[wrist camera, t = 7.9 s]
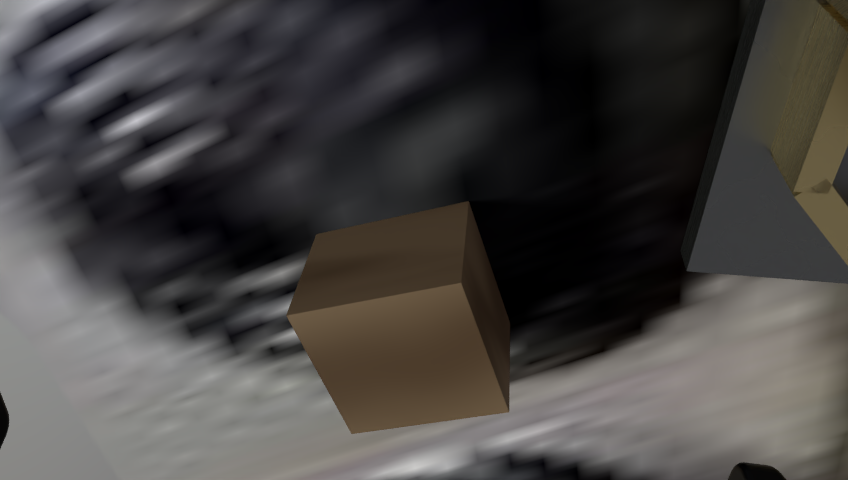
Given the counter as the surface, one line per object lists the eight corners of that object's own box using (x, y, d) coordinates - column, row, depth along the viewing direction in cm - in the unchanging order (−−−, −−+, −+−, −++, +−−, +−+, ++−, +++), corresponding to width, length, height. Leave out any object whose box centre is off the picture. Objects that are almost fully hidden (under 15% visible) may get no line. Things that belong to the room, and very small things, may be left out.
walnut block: (510, 320, 25) (509, 412, 22) (371, 344, 27) (351, 434, 23) (468, 198, 23) (460, 282, 19) (317, 231, 24) (286, 315, 21)
